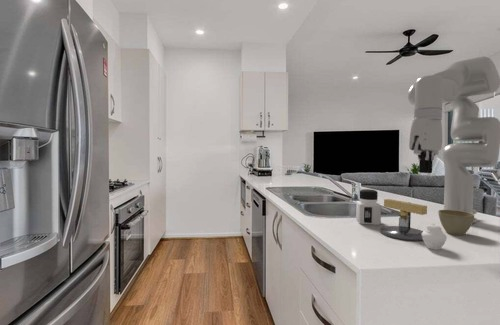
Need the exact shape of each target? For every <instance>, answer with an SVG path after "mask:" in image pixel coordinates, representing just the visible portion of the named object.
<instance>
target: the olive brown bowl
mask: <svg viewBox="0 0 500 325" xmlns="http://www.w3.org/2000/svg"><path fill="white" fill-rule="evenodd" d="M437 214H438V218H439V221H440V223H441V226H442V229H443V230H445V232H446V233H447V234H450V235H453V236H464V235H466V233H467V232H468V231H469V229H470V228H471V227H472V224H473V223H472V222H473V220H474V218H475V214H472V213H469V212H464V211H458V210H444V209H438V212H437Z"/></svg>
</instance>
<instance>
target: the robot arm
mask: <svg viewBox="0 0 500 325" xmlns="http://www.w3.org/2000/svg"><path fill="white" fill-rule="evenodd" d="M499 88H500V74H499V72H498V70H497V66H496V65H495V63H494V61H493V60H492V59H491V58H490V57H488V56H484V55H483V56H479V57H475V58H468V59H464V60H463V59H462V60H459V61H454V62H453V63H451V64H450V65H449V66H447V67H446V68H445V69H443V70H442V71H439V72H436V73H434V74H429V75H425V76H421V77H418V78H417V79H416V80H415V83H413V84H412V85H411V86H410V88H409V90H408V92H407V93H408V94H407V98H408V99H407V100H408V101H409V103H410V104H411V105H413V106H414V110H413V111H414V112H413V120H412V123H411V127H410V132H409V141H408V142H409V144H408V147H409V148H408V149H409V150H411V151H413V154H414V155H417V160H418V161H419V163H418V164H419V166H418V172H419V173H421V174H422V173H423V174H432V173H433V162H434V158H435V156H437V155H439V151H441V150H442V148H443V126H442V125H443V124H442V119H443V104H445V103H450V104H451V106H452V119H451V125H450V138H451V139H452V140H453V141H455V142H456V143H455V142H453V143H449V144H447V145H446V146H444V148H443V150H442V158H443V159H442V160H443V164H444V188H443V189H444V191H443V192H444V193H443V210H458V211H464V212H469V213H472V214H474V215H476V214H477V213H478V210H476V209H474V186H475V185H474V184H475V180H474V176H473V173H472V172H470V170H469V169H468V168H493V167H495V166H496V165H497V164H498V161H499V156H500V119H499V118H497V117H494V116H484V117H479V113H480V112H479V111H480V108H479V106H478V104H476V103H475V102H474V101H473V100H472V99H470V98H469V97H471V96H472V97H474V96H479V95H487V94H488V95H489V94H494V93H495V92H497V91H498V90H499ZM467 167H468V168H467ZM476 223H478V219H477V218H476V217H474V220H473V222H472V224H476Z"/></svg>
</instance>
